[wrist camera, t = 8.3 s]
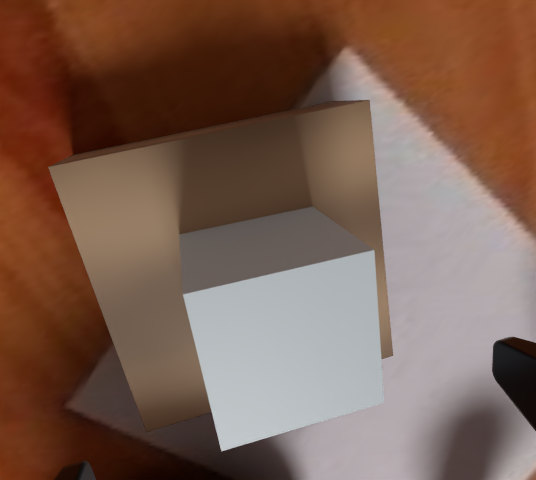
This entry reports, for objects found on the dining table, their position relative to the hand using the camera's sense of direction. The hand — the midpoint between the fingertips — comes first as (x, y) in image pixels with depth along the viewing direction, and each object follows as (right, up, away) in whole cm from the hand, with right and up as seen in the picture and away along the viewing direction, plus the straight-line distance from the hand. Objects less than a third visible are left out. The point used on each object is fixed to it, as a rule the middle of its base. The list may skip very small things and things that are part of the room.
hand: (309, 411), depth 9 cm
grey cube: (-1, +2, +7) cm, 7 cm away
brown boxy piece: (-2, +3, +11) cm, 12 cm away
